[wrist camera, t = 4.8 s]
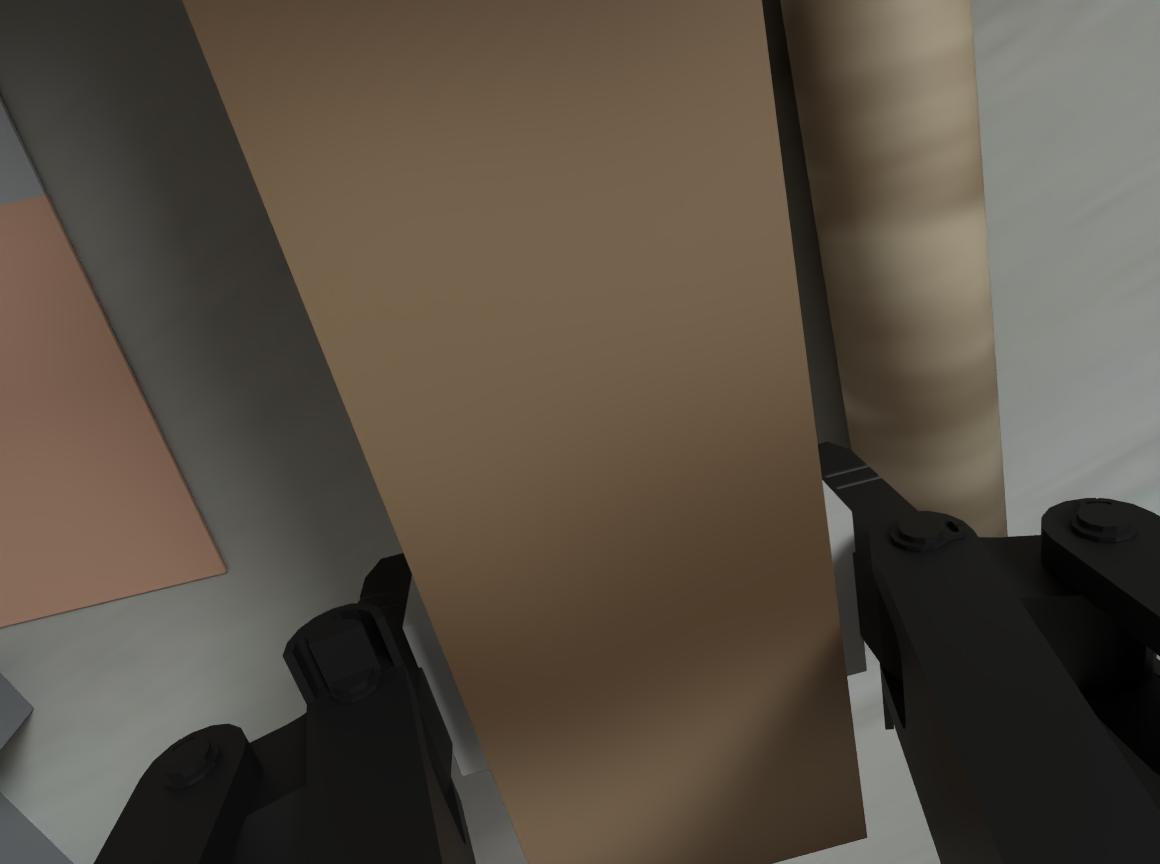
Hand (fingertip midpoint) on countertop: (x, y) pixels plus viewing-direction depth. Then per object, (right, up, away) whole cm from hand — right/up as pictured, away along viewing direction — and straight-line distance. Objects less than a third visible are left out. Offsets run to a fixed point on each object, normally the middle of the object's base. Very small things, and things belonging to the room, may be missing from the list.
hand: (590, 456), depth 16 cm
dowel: (+7, +5, -1) cm, 9 cm away
